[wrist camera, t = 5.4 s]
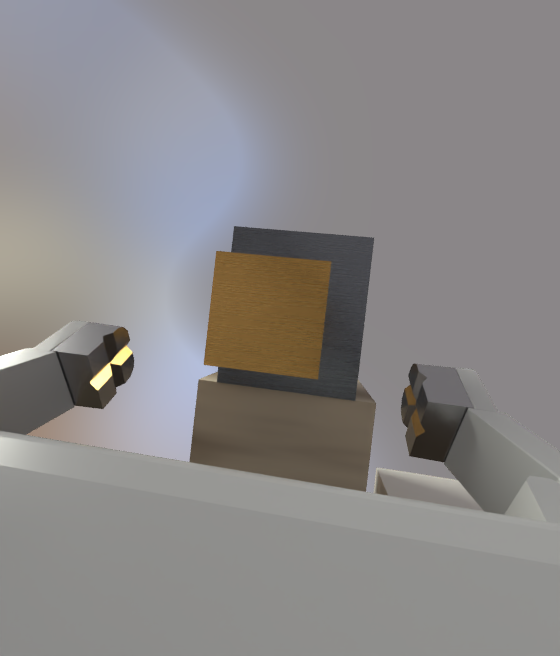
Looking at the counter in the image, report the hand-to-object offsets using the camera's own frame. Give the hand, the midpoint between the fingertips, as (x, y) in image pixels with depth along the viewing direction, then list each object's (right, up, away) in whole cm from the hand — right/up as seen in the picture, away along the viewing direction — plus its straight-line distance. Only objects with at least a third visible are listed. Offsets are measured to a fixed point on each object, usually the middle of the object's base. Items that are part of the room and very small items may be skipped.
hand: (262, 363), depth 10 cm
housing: (+1, -2, +7) cm, 7 cm away
